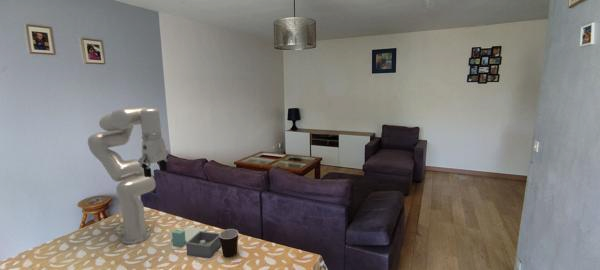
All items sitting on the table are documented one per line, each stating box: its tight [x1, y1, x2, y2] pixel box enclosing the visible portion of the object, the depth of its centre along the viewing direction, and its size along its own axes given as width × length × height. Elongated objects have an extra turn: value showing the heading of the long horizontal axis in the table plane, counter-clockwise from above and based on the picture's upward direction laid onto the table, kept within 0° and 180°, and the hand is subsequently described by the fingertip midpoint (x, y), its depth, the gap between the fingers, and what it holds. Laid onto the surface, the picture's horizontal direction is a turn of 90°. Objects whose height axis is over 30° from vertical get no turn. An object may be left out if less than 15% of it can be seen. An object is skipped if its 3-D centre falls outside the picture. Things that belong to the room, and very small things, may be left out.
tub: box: [185, 231, 222, 259], centre depth 132 cm, size 12×11×6 cm
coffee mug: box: [219, 228, 239, 259], centre depth 130 cm, size 12×9×10 cm
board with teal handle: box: [170, 226, 208, 248], centre depth 143 cm, size 16×12×7 cm
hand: (156, 173), depth 126 cm, fingers open, 9 cm apart
